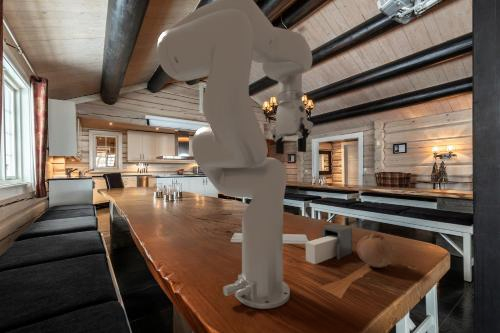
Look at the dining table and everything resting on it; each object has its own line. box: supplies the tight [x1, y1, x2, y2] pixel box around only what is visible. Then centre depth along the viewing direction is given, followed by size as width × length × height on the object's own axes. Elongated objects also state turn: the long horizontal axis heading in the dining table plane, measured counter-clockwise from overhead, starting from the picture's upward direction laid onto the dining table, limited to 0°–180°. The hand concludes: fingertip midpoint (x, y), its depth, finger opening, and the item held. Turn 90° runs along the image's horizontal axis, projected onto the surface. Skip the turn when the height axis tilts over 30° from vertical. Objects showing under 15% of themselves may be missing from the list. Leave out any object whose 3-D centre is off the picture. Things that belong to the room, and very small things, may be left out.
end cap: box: [316, 223, 353, 261], centre depth 79 cm, size 10×9×9 cm
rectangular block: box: [305, 235, 338, 265], centre depth 75 cm, size 14×4×6 cm, turn 126°
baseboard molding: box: [230, 230, 310, 245], centre depth 94 cm, size 31×3×12 cm
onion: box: [356, 232, 394, 269], centre depth 67 cm, size 10×9×10 cm
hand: (290, 152), depth 73 cm, fingers open, 9 cm apart
